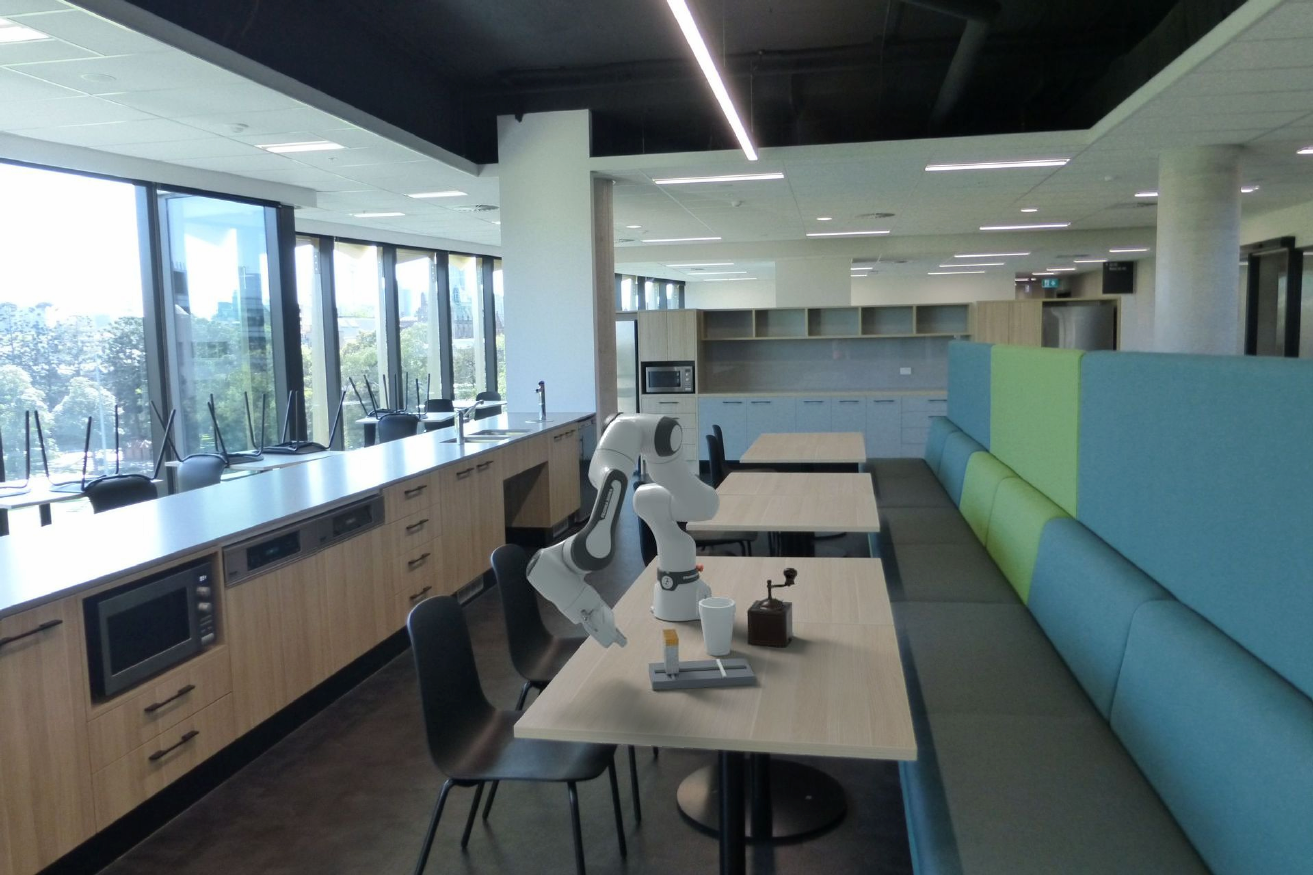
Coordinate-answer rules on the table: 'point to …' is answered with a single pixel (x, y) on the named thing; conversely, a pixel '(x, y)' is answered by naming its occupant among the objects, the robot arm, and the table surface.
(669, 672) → the plate
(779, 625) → the manual coffee grinder
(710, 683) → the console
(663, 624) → the table surface
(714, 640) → the foam cup
